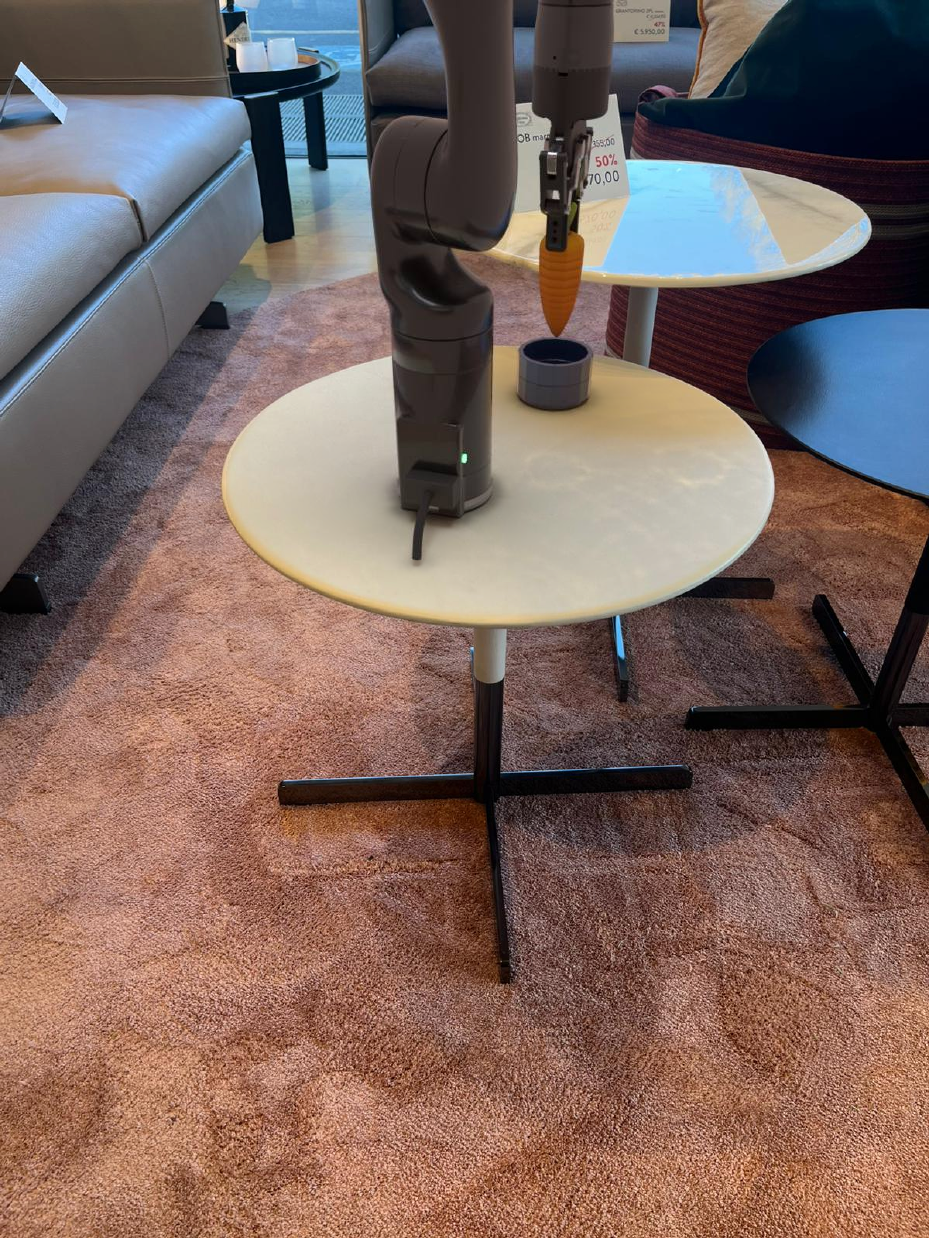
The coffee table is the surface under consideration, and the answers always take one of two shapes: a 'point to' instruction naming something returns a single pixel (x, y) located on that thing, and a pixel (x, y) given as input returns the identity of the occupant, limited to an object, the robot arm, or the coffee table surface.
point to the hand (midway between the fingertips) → (561, 243)
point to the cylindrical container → (554, 372)
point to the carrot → (560, 278)
